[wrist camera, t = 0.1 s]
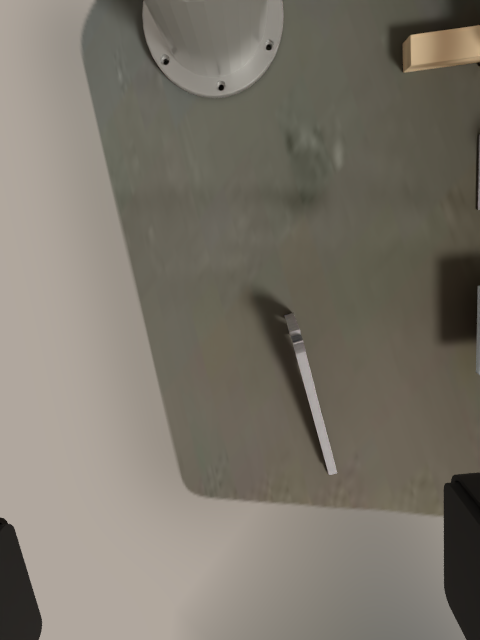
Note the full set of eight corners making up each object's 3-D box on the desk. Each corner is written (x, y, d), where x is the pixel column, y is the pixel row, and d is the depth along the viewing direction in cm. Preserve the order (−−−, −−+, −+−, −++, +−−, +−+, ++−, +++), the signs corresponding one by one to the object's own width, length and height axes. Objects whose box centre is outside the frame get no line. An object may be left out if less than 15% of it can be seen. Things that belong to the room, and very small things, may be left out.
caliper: (282, 313, 46) (288, 329, 40) (292, 311, 46) (299, 326, 40) (328, 472, 51) (338, 508, 45) (337, 470, 50) (349, 506, 44)
